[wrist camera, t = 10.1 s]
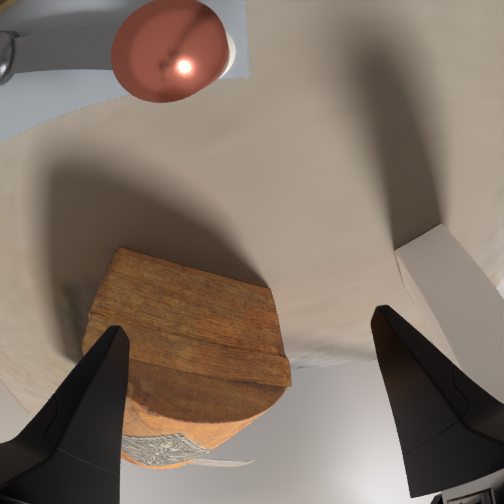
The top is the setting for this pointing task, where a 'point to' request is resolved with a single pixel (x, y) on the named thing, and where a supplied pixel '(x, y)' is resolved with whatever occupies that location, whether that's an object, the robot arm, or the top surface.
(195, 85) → the lever
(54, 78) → the blue-grey rectangular board
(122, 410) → the robot arm
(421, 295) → the milk
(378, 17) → the top surface
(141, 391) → the wooden box
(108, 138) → the top surface
